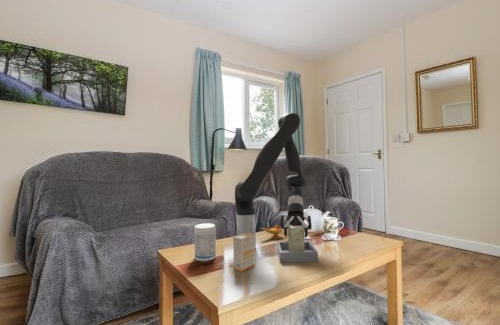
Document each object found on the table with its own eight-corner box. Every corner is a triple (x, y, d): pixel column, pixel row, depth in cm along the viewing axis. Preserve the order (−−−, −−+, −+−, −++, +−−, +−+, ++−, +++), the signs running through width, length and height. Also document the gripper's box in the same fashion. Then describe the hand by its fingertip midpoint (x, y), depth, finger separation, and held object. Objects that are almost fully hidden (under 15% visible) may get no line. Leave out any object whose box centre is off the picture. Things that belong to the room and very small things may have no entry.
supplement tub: (197, 254, 126) (196, 223, 126) (217, 254, 126) (216, 222, 126) (192, 262, 117) (191, 228, 117) (214, 261, 116) (213, 227, 116)
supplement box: (246, 262, 115) (245, 232, 115) (255, 265, 112) (254, 233, 112) (233, 269, 108) (232, 236, 108) (242, 271, 105) (241, 238, 105)
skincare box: (292, 255, 120) (291, 228, 120) (288, 252, 124) (287, 225, 124) (305, 254, 121) (304, 227, 121) (300, 250, 126) (300, 224, 126)
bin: (280, 262, 115) (279, 252, 115) (277, 250, 131) (277, 241, 131) (318, 261, 114) (317, 252, 114) (310, 249, 130) (310, 241, 130)
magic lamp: (256, 238, 152) (256, 218, 152) (283, 234, 160) (283, 215, 160) (262, 241, 145) (262, 221, 145) (290, 236, 154) (289, 217, 154)
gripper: (280, 202, 131) (279, 231, 120) (310, 202, 129) (312, 232, 117) (281, 211, 136) (280, 240, 125) (310, 211, 134) (311, 241, 122)
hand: (295, 236), depth 121 cm, fingers open, 8 cm apart
